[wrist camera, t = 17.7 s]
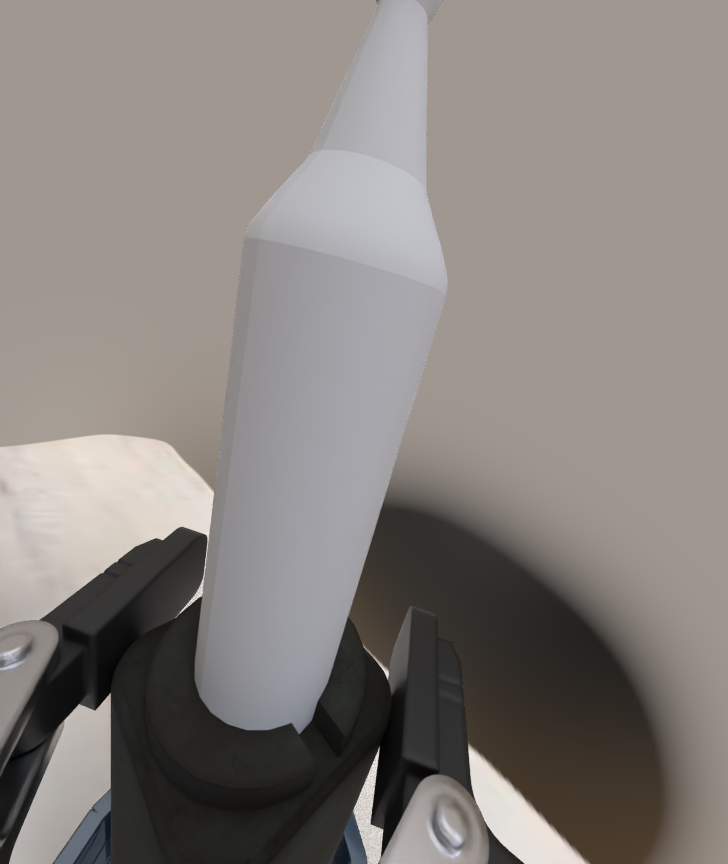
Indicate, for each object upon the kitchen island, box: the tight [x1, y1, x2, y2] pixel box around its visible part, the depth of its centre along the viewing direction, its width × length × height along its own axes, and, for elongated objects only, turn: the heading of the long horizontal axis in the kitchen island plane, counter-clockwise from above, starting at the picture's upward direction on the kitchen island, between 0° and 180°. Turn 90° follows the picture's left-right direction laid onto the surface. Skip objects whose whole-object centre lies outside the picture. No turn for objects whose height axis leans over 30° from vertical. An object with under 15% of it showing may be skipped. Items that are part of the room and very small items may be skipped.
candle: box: [111, 0, 448, 864], centre depth 8 cm, size 5×5×25 cm
